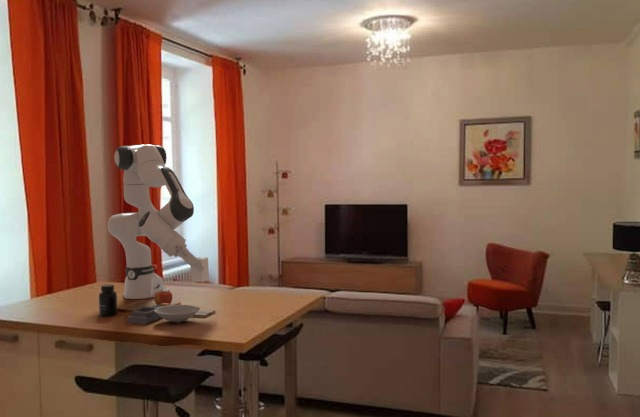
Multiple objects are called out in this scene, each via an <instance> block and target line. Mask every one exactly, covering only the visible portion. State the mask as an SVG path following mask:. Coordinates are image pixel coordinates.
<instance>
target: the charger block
mask: <svg viewBox="0 0 640 417" xmlns="http://www.w3.org/2000/svg"><path fill="white" fill-rule="evenodd" d="M195 257H196V258H197V259H198V262H199V263H200V265H201V266H203V267H204V270H203V271H200V270H199V269H197V268H196V267H195V266H193V267H191V266H190V282H192V283H205V282H207V281H209V280H210V276H209V257H206V256H205V257H203V256H195Z"/></svg>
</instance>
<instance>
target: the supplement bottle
mask: <svg viewBox="0 0 640 417" xmlns="http://www.w3.org/2000/svg"><path fill="white" fill-rule="evenodd" d="M100 289H101V290H100V293H98V309H99V316H100V317H101V318H102V317H103V318H108V317H114V316H117V314H118V295H117V294H118V293H117V292H116V291H114V290H115V285H114V284H101V286H100Z"/></svg>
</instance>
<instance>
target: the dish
mask: <svg viewBox="0 0 640 417" xmlns="http://www.w3.org/2000/svg"><path fill="white" fill-rule="evenodd" d="M200 309H201V308H200V307H199V306H197V305H192V304H170V305H168V306H162V307H159V308H156V309H155V310H154V312H155V313H157V314H158V315H159V316H160V317H161V318H160V319H163V320H165V321H169V322H174V323H176V324H178V323H181V322H183V321H187V320H189V319H191V318H193V317H192V316H194V315H195V313H196V312H197V311H199V310H200Z"/></svg>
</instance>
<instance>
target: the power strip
mask: <svg viewBox="0 0 640 417" xmlns="http://www.w3.org/2000/svg"><path fill="white" fill-rule="evenodd" d="M168 305H171V304H170V303H162V304H161V305H159V304H158V305H156V304H155V305H154V306H142V307H138V308H137V309H134V310H131V315H128V316H127V324H131V325H134V324H135V325H148V324H150V323H152V322H154V321H157V320H160V319H162V318H161V317H160V316H159V315H158V314H157V313H155V312H154V310H155V309H156V308H159V307H162V306H168Z"/></svg>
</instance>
